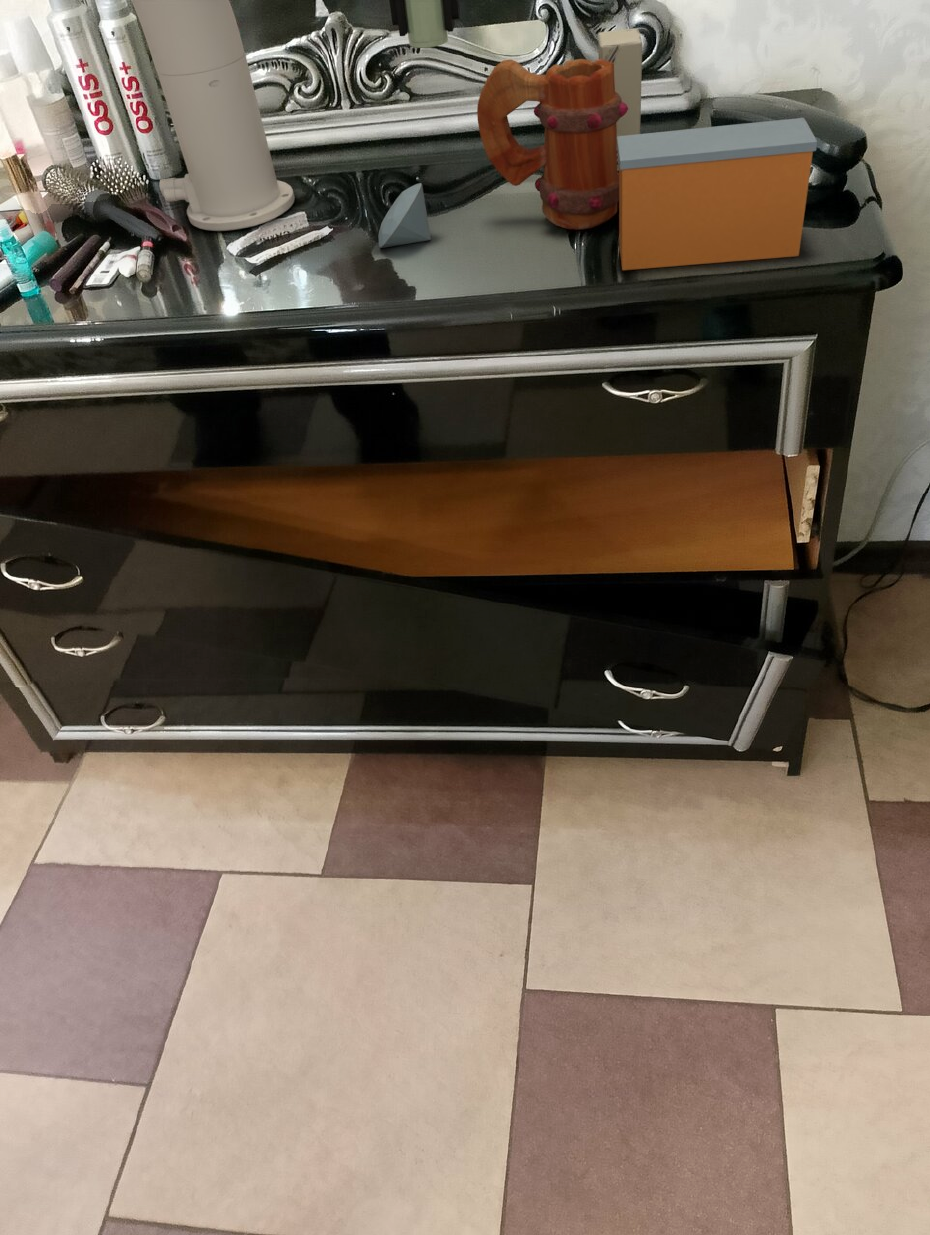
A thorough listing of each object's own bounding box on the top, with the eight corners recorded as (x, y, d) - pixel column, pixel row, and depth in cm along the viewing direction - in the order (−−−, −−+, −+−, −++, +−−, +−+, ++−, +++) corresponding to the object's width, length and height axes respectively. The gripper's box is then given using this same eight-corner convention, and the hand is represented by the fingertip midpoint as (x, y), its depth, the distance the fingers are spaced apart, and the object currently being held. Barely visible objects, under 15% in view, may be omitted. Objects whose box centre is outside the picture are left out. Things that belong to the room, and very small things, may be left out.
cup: (407, 49, 94) (397, -27, 90) (411, 38, 97) (402, -37, 93) (446, 45, 94) (439, -32, 89) (449, 35, 97) (442, -41, 92)
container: (620, 271, 88) (619, 160, 81) (617, 244, 92) (616, 136, 85) (801, 257, 86) (817, 141, 79) (790, 229, 90) (804, 117, 83)
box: (598, 157, 109) (596, 31, 100) (637, 153, 108) (638, 25, 99) (601, 174, 105) (599, 44, 96) (641, 170, 104) (643, 39, 95)
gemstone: (459, 194, 97) (420, 162, 95) (442, 235, 93) (401, 202, 91) (420, 243, 103) (382, 214, 101) (402, 284, 98) (363, 254, 97)
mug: (634, 203, 98) (635, 41, 88) (622, 237, 93) (621, 68, 82) (499, 205, 102) (485, 50, 92) (480, 237, 97) (463, 76, 86)
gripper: (300, -193, 80) (341, 48, 93) (494, -218, 78) (508, 32, 91) (315, -202, 86) (352, 28, 98) (498, -225, 84) (511, 13, 96)
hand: (427, 28), depth 95 cm, fingers closed on cup, 4 cm apart
